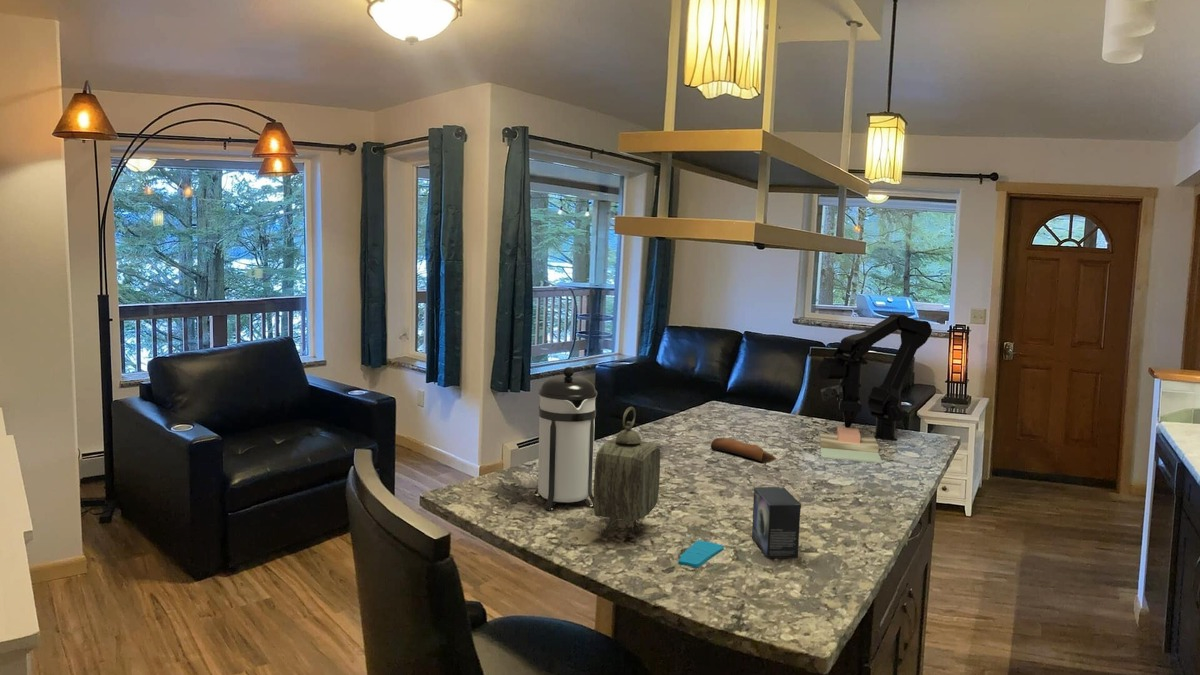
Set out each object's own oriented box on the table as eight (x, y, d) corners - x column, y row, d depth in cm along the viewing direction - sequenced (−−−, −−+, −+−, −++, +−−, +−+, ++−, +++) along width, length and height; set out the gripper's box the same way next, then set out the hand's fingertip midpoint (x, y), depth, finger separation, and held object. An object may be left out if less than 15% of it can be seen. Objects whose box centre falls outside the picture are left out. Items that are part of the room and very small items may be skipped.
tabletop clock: (617, 516, 162) (622, 399, 159) (659, 523, 158) (664, 403, 156) (591, 539, 148) (596, 411, 145) (636, 547, 145) (641, 417, 142)
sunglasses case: (780, 458, 212) (774, 440, 209) (767, 475, 209) (760, 456, 206) (728, 445, 225) (722, 427, 222) (714, 460, 222) (708, 442, 219)
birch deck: (819, 439, 237) (820, 433, 237) (874, 444, 233) (874, 437, 233) (820, 448, 225) (820, 441, 225) (878, 453, 221) (878, 447, 221)
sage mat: (820, 449, 225) (820, 447, 225) (878, 454, 221) (878, 453, 221) (821, 457, 215) (821, 456, 215) (881, 463, 211) (881, 461, 211)
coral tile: (837, 434, 235) (837, 426, 235) (857, 436, 234) (858, 428, 233) (838, 441, 226) (838, 433, 226) (859, 443, 225) (860, 435, 225)
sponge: (667, 558, 139) (696, 562, 136) (696, 539, 149) (724, 542, 146) (668, 567, 139) (697, 571, 136) (697, 547, 149) (725, 550, 146)
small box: (749, 537, 152) (752, 485, 151) (781, 537, 153) (784, 486, 152) (765, 558, 142) (768, 503, 141) (799, 558, 142) (803, 503, 141)
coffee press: (613, 497, 174) (617, 366, 170) (575, 517, 160) (579, 375, 157) (549, 483, 182) (553, 358, 179) (508, 501, 169) (511, 366, 165)
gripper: (822, 372, 246) (819, 420, 248) (823, 381, 228) (820, 433, 230) (859, 375, 243) (855, 423, 245) (863, 384, 225) (859, 436, 227)
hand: (847, 428), depth 237 cm, fingers closed
